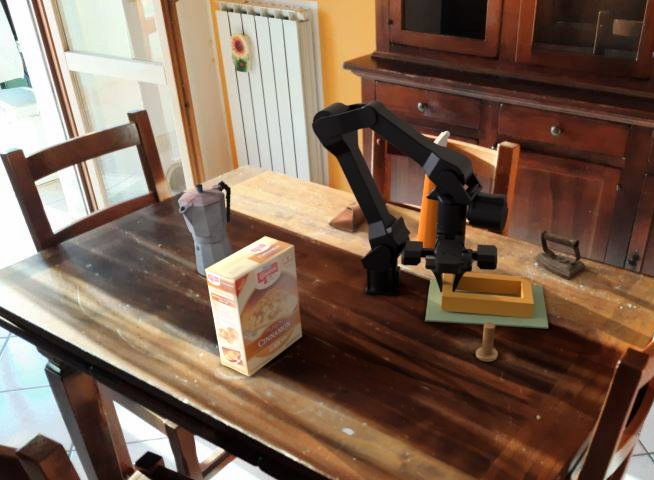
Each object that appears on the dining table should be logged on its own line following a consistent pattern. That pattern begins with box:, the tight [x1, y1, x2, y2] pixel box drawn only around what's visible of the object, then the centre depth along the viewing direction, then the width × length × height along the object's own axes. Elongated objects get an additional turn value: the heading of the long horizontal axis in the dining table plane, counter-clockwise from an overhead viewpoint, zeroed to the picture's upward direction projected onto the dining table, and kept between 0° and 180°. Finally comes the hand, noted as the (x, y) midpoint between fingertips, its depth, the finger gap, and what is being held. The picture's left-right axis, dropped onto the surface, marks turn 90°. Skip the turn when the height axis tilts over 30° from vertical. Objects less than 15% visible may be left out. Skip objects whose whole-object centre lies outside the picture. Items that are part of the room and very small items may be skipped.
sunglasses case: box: [328, 192, 388, 233], centre depth 169 cm, size 18×7×7 cm
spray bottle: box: [416, 130, 451, 248], centre depth 150 cm, size 7×11×26 cm, turn 148°
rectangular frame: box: [441, 271, 534, 318], centre depth 133 cm, size 18×10×3 cm, turn 84°
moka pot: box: [177, 180, 235, 277], centre depth 141 cm, size 10×15×20 cm, turn 158°
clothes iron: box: [535, 230, 587, 280], centre depth 146 cm, size 7×11×10 cm, turn 47°
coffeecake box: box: [205, 235, 303, 377], centre depth 115 cm, size 15×7×20 cm, turn 148°
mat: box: [424, 279, 549, 330], centre depth 134 cm, size 24×16×1 cm, turn 84°
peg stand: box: [475, 322, 499, 363], centre depth 118 cm, size 4×4×7 cm
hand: (447, 291), depth 134 cm, fingers closed on rectangular frame, 2 cm apart
